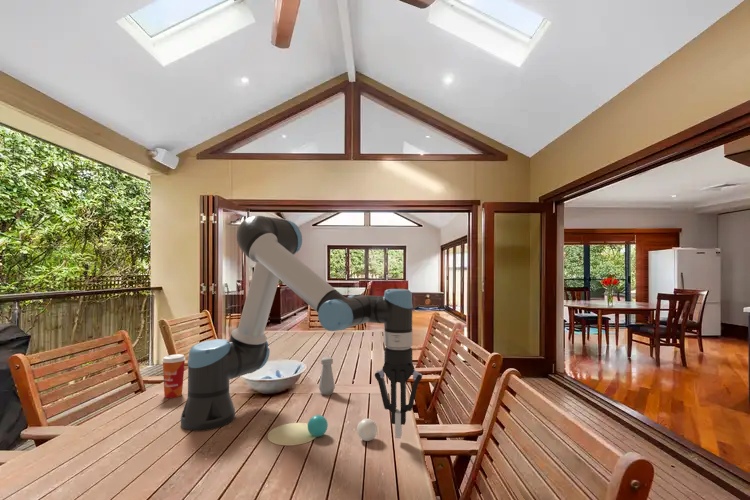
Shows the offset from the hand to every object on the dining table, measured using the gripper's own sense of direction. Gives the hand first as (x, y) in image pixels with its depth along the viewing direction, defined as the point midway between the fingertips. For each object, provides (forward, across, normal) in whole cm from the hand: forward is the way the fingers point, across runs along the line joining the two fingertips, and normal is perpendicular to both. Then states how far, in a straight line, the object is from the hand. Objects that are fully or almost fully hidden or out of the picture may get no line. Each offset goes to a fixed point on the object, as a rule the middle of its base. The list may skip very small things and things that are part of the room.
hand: (398, 435), depth 103 cm
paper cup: (+2, -84, +22) cm, 87 cm away
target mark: (+2, -30, 0) cm, 30 cm away
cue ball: (-1, -8, 0) cm, 9 cm away
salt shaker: (+2, -30, +34) cm, 46 cm away
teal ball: (-1, -22, 0) cm, 23 cm away
